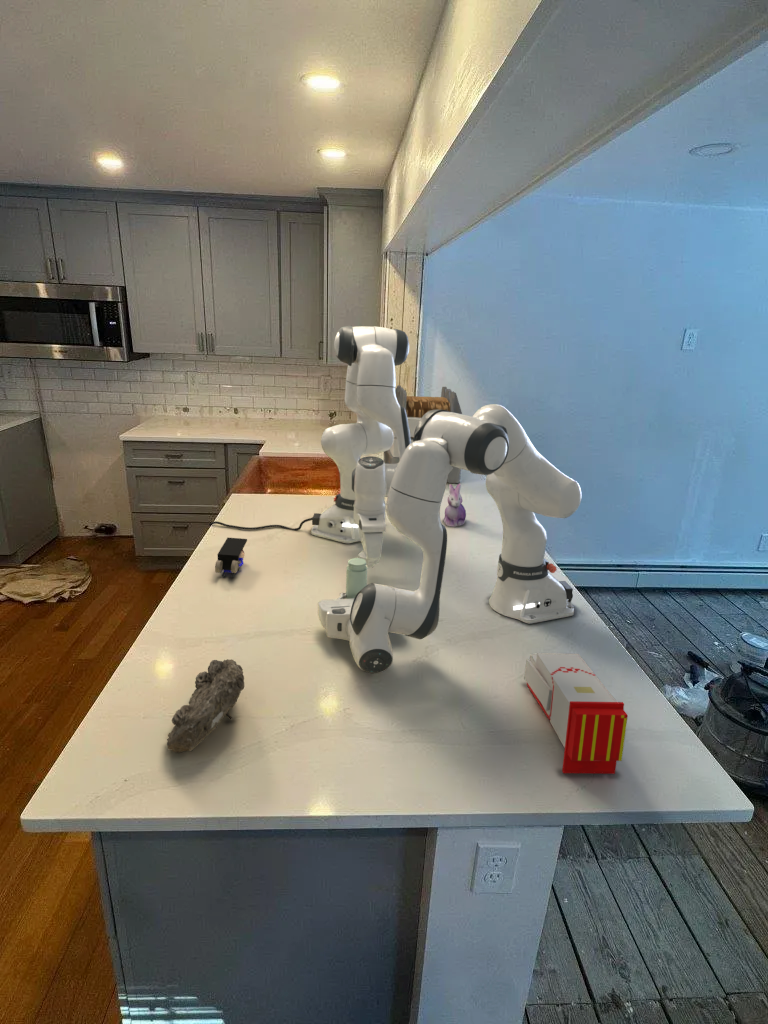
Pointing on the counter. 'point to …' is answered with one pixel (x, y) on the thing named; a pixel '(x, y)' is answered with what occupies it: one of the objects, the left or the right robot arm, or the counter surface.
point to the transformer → (415, 411)
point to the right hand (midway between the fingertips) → (355, 594)
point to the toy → (578, 711)
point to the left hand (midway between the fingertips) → (368, 561)
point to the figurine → (454, 508)
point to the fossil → (206, 705)
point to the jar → (355, 577)
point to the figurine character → (230, 556)
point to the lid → (363, 556)
